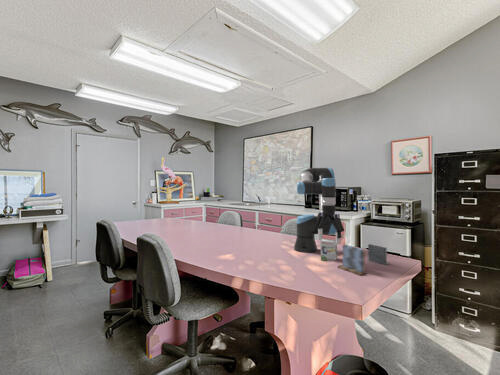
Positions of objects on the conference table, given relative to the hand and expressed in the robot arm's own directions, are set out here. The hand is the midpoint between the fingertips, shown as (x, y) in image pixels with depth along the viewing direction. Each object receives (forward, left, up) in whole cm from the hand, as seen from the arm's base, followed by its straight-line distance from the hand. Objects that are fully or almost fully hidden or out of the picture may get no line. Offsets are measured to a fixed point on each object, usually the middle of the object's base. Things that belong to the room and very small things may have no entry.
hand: (328, 241), depth 150 cm
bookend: (+19, +18, -10) cm, 28 cm away
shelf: (+19, +8, -11) cm, 23 cm away
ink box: (0, 0, -11) cm, 11 cm away
